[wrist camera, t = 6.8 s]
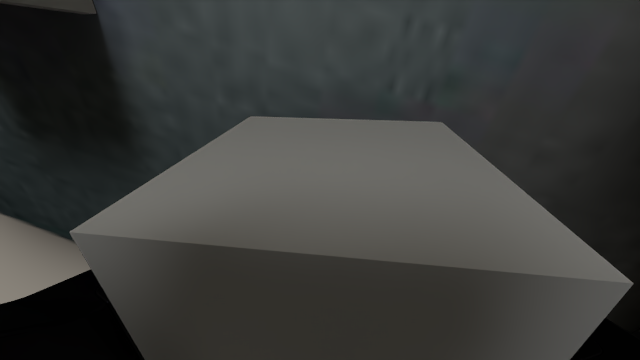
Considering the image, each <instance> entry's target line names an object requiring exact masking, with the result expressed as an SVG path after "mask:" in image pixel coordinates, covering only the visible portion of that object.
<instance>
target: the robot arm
mask: <svg viewBox="0 0 640 360" xmlns="http://www.w3.org/2000/svg"><path fill="white" fill-rule="evenodd" d="M0 360H145V359H144V357H143V356H142V354H141V352H140V351H139V349H138V347H137V346H136V344H135V342H134V341H133V339H132V337H131V336H130V334H129V332H128V330H127V329H126V327H125V325H124V324H123V322H122V320H121V319H120V317H119V315H118V314H117V312H116V310H115V309H114V307H113V305H112V303H111V302H110V300H109V298H108V297H107V295H106V293H105V292H104V290H103V288H102V287H101V285H100V283H99V282H98V280H97V278H96V277H95V275H94V273H93V271H92V270H88V271H86V272H84V273H81V274H79V275H77V276H74V277H72V278H69V279H67V280H65V281H63V282H60V283H58V284H55V285H53V286H51V287H48V288H46V289H44V290H41V291H39V292H36V293H34V294H32V295H29V296H27V297H24V298H21V299H18V300H15V301H11V302H7V303H3V304H0ZM570 360H640V339H639V338H638V337H636V336H634V335H633V334H631V333H629V332H628V331H626V330H624V329H623V328H621V327H619V326H618V325H616V324H614V323H613V322H611V321H609V320H608V319H606V318H604V320H603V321H602V322H601V323H600V324H599V326H598V327H597V328H596V329H595V330H594V332H593V333H592V334H591V335H590V336H589V337H588V339H587V340H586V341H585V342H584V343H583V345H582V346H581V347H580V348H579V349H578V351H577V352H576V353H575V354H574V355H573V357H572V358H571V359H570Z"/></svg>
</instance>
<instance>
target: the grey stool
mask: <svg viewBox="0 0 640 360" xmlns="http://www.w3.org/2000/svg"><path fill="white" fill-rule="evenodd" d="M69 233H70V234H71V236H72V238H73V239H74V241H75V243H76V244H77V246H78V248H79V249H80V251H81V253H82V255H83V256H84V258H85V260H86V261H87V263H88V265H89V266H90V268H91V270H92V271H93V273H94V275H95V277H96V278H97V280H98V282H99V283H100V285H101V287H102V288H103V290H104V292H105V293H106V295H107V297H108V298H109V300H110V302H111V303H112V305H113V307H114V309H115V310H116V312H117V314H118V315H119V317H120V319H121V320H122V322H123V324H124V325H125V327H126V329H127V330H128V332H129V334H130V336H131V337H132V339H133V341H134V342H135V344H136V346H137V347H138V349H139V351H140V352H141V354H142V356H143V357H144V359H145V360H570V359H571V358H572V357H573V355H574V354H575V353H576V352H577V351H578V349H579V348H580V347H581V346H582V345H583V343H584V342H585V341H586V340H587V339H588V337H589V336H590V335H591V334H592V333H593V332H594V330H595V329H596V328H597V327H598V326H599V324H600V323H601V322H602V321H603V320H604V318H605V317H606V316H607V315H608V314H609V312H610V311H611V310H612V309H613V308H614V307H615V305H616V304H617V303H618V302H619V301H620V299H621V298H622V297H623V296H624V295H625V293H626V292H627V291H628V290H629V289H630V288H631V286H632V285H633V284H634V283H633V282H631V281H630V280H629V279H628V278H627V277H625V276H624V275H623V274H622V273H621V272H619V271H618V270H617V269H616V268H615V267H613V266H612V265H611V264H610V263H609V262H608V261H606V260H605V259H604V258H603V257H602V256H600V255H599V254H598V253H597V252H596V251H594V250H593V249H592V248H591V247H590V246H588V245H587V244H586V243H585V242H584V241H583V240H581V239H580V238H579V237H578V236H577V235H575V234H574V233H573V232H572V231H571V230H569V229H568V228H567V227H566V226H565V225H564V224H562V223H561V222H560V221H559V220H558V219H556V218H555V217H554V216H553V215H552V214H550V213H549V212H548V211H547V210H546V209H544V208H543V207H542V206H541V205H540V204H539V203H537V202H536V201H535V200H534V199H533V198H531V197H530V196H529V195H528V194H527V193H525V192H524V191H523V190H522V189H521V188H519V187H518V186H517V185H516V184H515V183H514V182H512V181H511V180H510V179H509V178H508V177H506V176H505V175H504V174H503V173H502V172H500V171H499V170H498V169H497V168H496V167H494V166H493V165H492V164H491V163H490V162H489V161H487V160H486V159H485V158H484V157H483V156H481V155H480V154H479V153H478V152H477V151H475V150H474V149H473V148H472V147H471V146H469V145H468V144H467V143H466V142H465V141H464V140H462V139H461V138H460V137H459V136H458V135H456V134H455V133H454V132H453V131H452V130H450V129H449V128H448V127H447V126H446V125H444V124H443V123H442V122H422V121H388V120H354V119H321V118H287V117H253V116H251V117H249V118H247V119H246V120H244V121H243V122H241V123H240V124H238V125H236V126H235V127H233V128H232V129H230V130H229V131H227V132H225V133H224V134H222V135H221V136H219V137H218V138H216V139H214V140H213V141H211V142H210V143H208V144H207V145H205V146H204V147H202V148H200V149H199V150H197V151H196V152H194V153H193V154H191V155H189V156H188V157H186V158H185V159H183V160H182V161H180V162H178V163H177V164H175V165H174V166H172V167H171V168H169V169H167V170H166V171H164V172H163V173H161V174H160V175H158V176H156V177H155V178H153V179H152V180H150V181H149V182H147V183H145V184H144V185H142V186H141V187H139V188H138V189H136V190H135V191H133V192H131V193H130V194H128V195H127V196H125V197H124V198H122V199H120V200H119V201H117V202H116V203H114V204H113V205H111V206H109V207H108V208H106V209H105V210H103V211H102V212H100V213H98V214H97V215H95V216H94V217H92V218H91V219H89V220H87V221H86V222H84V223H83V224H81V225H80V226H78V227H77V228H75V229H73V230H72V231H70V232H69Z"/></svg>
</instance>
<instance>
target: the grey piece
mask: <svg viewBox="0 0 640 360" xmlns="http://www.w3.org/2000/svg"><path fill="white" fill-rule="evenodd" d="M0 3H2V4H9V5H17V6H25V7H32V8H40V9H47V10H55V11H62V12H70V13H78V14H97V13H96V10H95V7H94V4H93V1H92V0H0Z"/></svg>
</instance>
